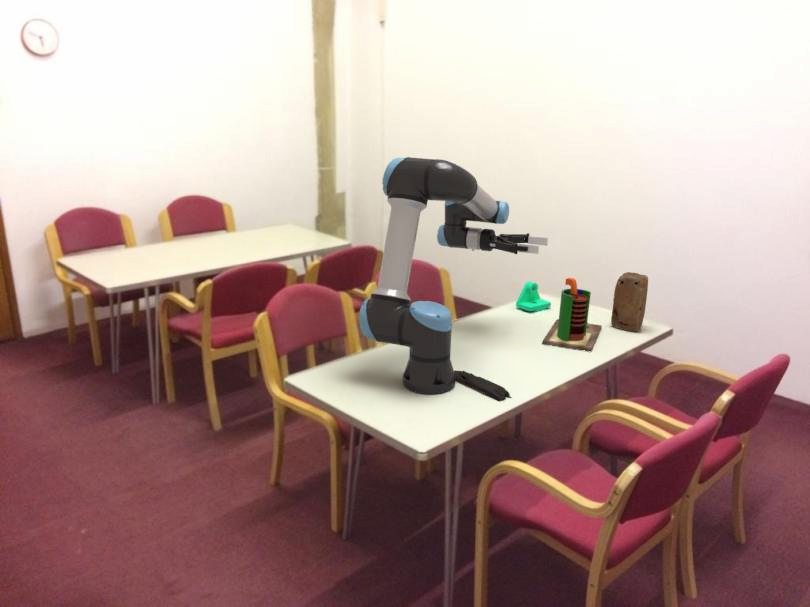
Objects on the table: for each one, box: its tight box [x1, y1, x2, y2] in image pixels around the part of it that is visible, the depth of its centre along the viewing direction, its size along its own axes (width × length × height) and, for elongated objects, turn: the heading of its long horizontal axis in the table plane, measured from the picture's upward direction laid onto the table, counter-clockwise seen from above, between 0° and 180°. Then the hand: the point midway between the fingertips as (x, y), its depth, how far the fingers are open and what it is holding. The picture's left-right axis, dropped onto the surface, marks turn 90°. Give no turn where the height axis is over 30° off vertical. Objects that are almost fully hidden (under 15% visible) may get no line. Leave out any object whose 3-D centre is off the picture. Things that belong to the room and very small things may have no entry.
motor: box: [557, 277, 592, 341], centre depth 226 cm, size 10×9×20 cm
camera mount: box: [515, 280, 552, 313], centre depth 262 cm, size 12×8×10 cm, turn 125°
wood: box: [453, 369, 512, 402], centre depth 193 cm, size 22×7×3 cm, turn 40°
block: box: [610, 271, 649, 332], centre depth 240 cm, size 11×8×20 cm
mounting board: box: [541, 318, 603, 352], centre depth 233 cm, size 16×25×3 cm, turn 157°
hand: (543, 245), depth 224 cm, fingers open, 13 cm apart
